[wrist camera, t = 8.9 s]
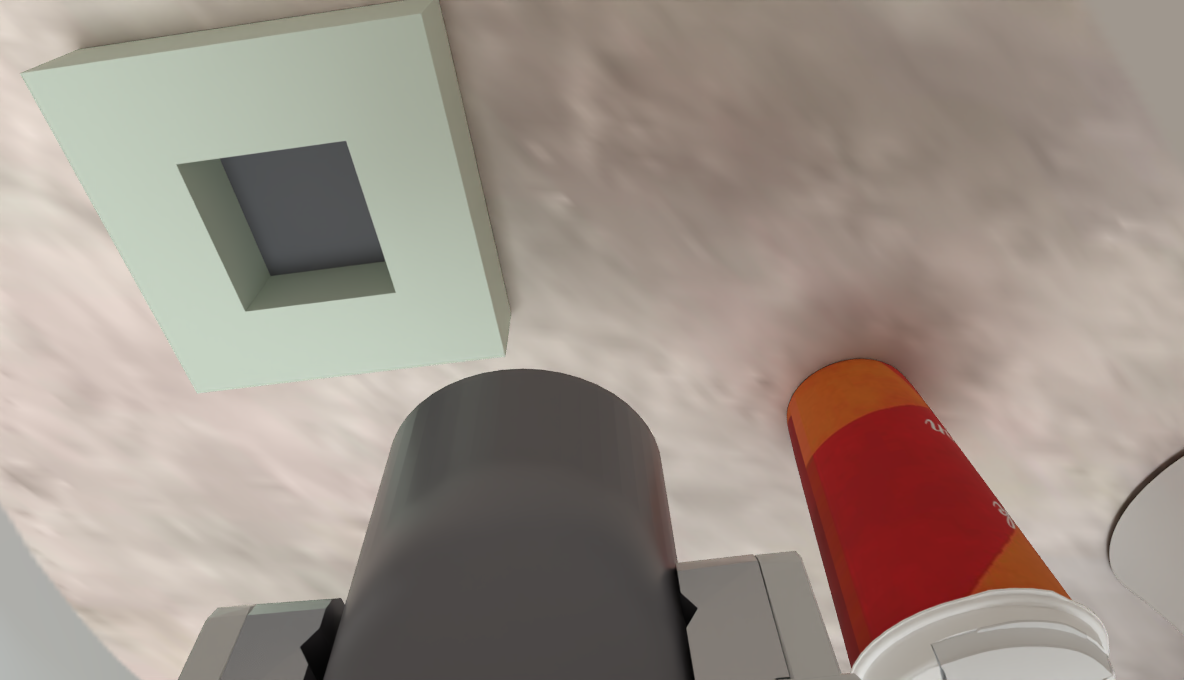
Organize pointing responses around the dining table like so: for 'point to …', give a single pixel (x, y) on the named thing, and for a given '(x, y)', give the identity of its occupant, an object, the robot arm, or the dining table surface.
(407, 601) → the plug
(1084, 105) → the dining table surface
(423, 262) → the socket
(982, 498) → the paper cup
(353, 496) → the dining table surface
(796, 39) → the dining table surface
